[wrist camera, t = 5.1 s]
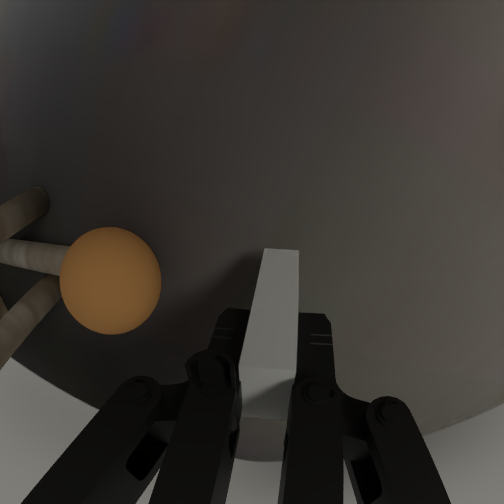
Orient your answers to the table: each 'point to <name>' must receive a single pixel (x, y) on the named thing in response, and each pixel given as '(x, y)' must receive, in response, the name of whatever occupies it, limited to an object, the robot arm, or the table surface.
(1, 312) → the grey long bar
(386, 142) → the table surface
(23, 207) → the pin
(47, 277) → the pin
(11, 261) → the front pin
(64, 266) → the ball
